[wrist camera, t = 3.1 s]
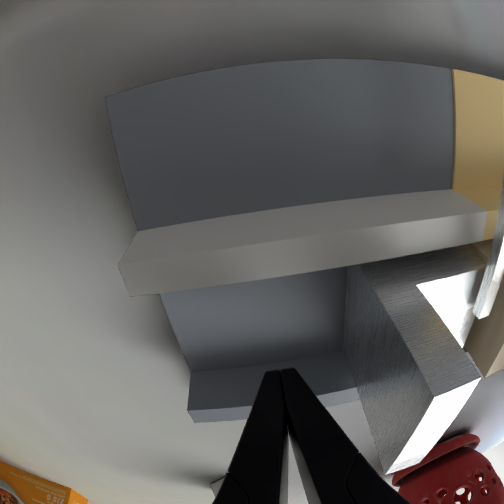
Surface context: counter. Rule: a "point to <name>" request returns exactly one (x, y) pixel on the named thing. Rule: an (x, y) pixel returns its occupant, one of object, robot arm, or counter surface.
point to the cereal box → (33, 489)
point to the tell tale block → (488, 327)
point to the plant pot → (451, 475)
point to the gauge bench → (295, 204)
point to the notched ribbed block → (417, 341)
